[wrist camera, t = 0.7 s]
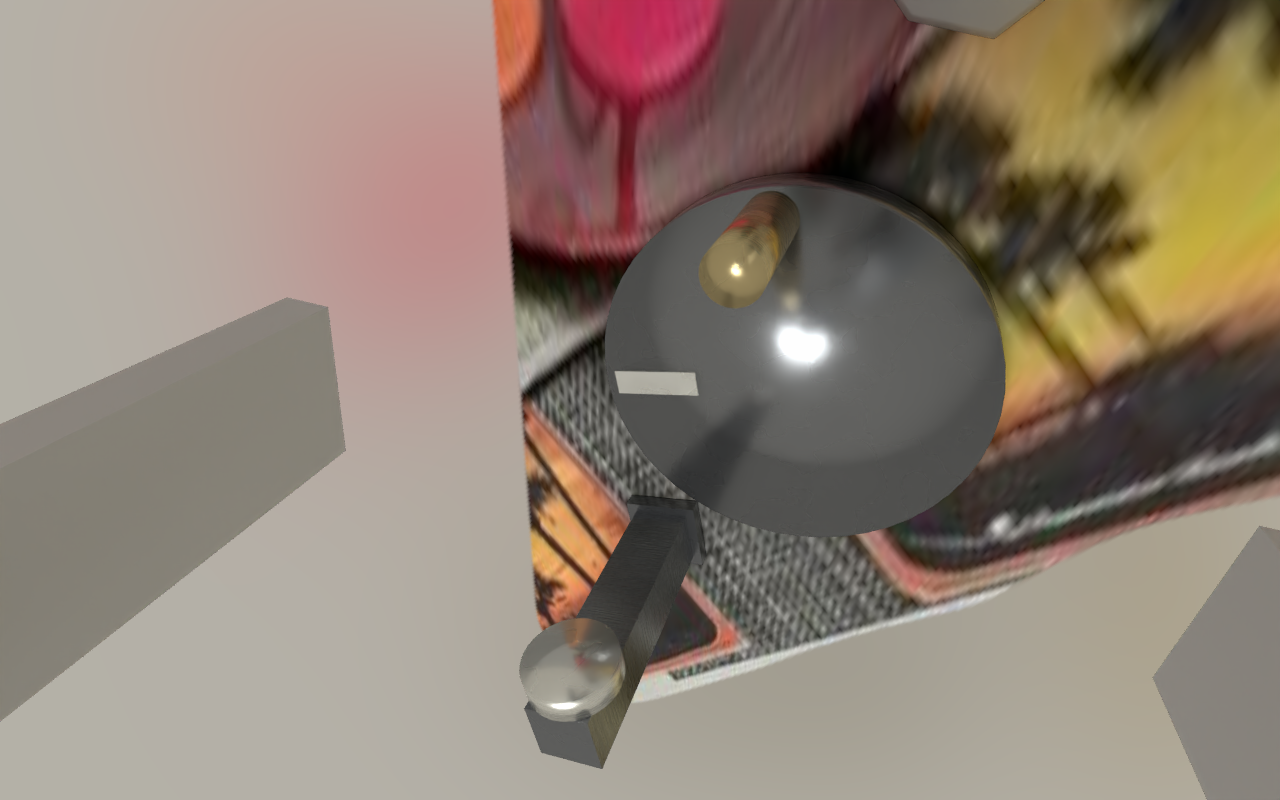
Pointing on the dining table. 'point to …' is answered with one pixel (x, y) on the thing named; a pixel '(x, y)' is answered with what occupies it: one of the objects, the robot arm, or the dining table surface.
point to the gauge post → (610, 634)
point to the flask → (968, 14)
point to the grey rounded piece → (807, 355)
